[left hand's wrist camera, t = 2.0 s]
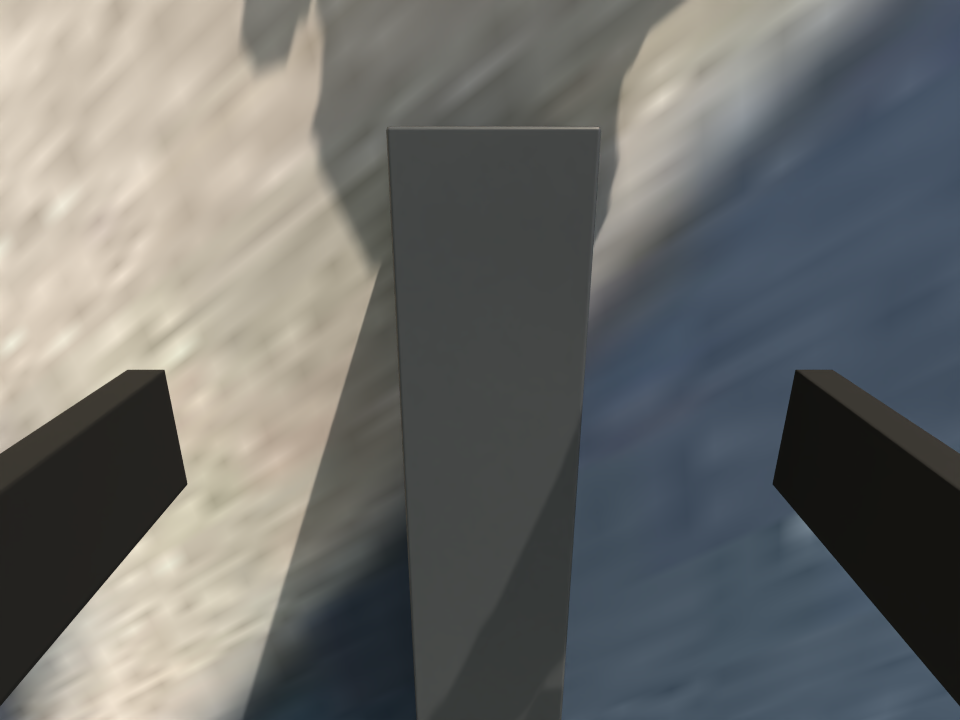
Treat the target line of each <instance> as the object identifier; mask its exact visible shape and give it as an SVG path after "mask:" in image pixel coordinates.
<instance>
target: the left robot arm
mask: <svg viewBox="0 0 960 720" xmlns="http://www.w3.org/2000/svg"><path fill="white" fill-rule="evenodd" d="M186 485H187V480H186V475H185V470H184V465H183V460H182V455H181V450H180V445H179V440H178V435H177V430H176V425H175V420H174V415H173V410H172V405H171V400H170V395H169V390H168V385H167V380H166V375H165V370H127V371H125V372H124V373H122V374H121V375H119V376H118V377H116V378H114V379H113V380H111V381H110V382H108V383H107V384H105V385H104V386H102V387H101V388H99V389H98V390H96V391H95V392H93V393H92V394H90V395H89V396H87V397H86V398H84V399H83V400H81V401H80V402H78V403H77V404H75V405H74V406H72V407H71V408H69V409H67V410H66V411H64V412H63V413H61V414H60V415H58V416H57V417H55V418H54V419H52V420H51V421H49V422H48V423H46V424H45V425H43V426H42V427H40V428H39V429H37V430H36V431H34V432H33V433H31V434H30V435H28V436H27V437H25V438H23V439H22V440H20V441H19V442H17V443H16V444H14V445H13V446H11V447H10V448H8V449H7V450H5V451H4V452H2V453H1V454H0V706H1V705H2V703H3V702H4V701H5V700H6V699H7V697H8V696H9V695H10V694H11V693H12V692H13V690H14V689H15V688H16V687H17V686H18V684H19V683H20V682H21V681H22V680H23V679H24V677H25V676H26V675H27V674H28V673H29V671H30V670H31V669H32V668H33V667H34V665H35V664H36V663H37V662H38V661H39V660H40V658H41V657H42V656H43V655H44V654H45V652H46V651H47V650H48V649H49V648H50V647H51V645H52V644H53V643H54V642H55V641H56V639H57V638H58V637H59V636H60V635H61V633H62V632H63V631H64V630H65V629H66V628H67V626H68V625H69V624H70V623H71V622H72V620H73V619H74V618H75V617H76V616H77V615H78V613H79V612H80V611H81V610H82V609H83V607H84V606H85V605H86V604H87V603H88V601H89V600H90V599H91V598H92V597H93V596H94V594H95V593H96V592H97V591H98V590H99V588H100V587H101V586H102V585H103V584H104V583H105V581H106V580H107V579H108V578H109V577H110V575H111V574H112V573H113V572H114V571H115V569H116V568H117V567H118V566H119V565H120V564H121V562H122V561H123V560H124V559H125V558H126V556H127V555H128V554H129V553H130V552H131V551H132V549H133V548H134V547H135V546H136V545H137V543H138V542H139V541H140V540H141V539H142V537H143V536H144V535H145V534H146V533H147V532H148V530H149V529H150V528H151V527H152V526H153V524H154V523H155V522H156V521H157V520H158V519H159V517H160V516H161V515H162V514H163V513H164V511H165V510H166V509H167V508H168V507H169V505H170V504H171V503H172V502H173V501H174V500H175V498H176V497H177V496H178V495H179V494H180V492H181V491H182V490H183V489H184V488H185V487H186ZM773 485H774V487H775V488H776V489H777V490H778V491H779V492H780V494H781V495H782V496H783V497H784V498H785V500H786V501H787V502H788V503H789V504H790V505H791V507H792V508H793V509H794V510H795V511H796V513H797V514H798V515H799V516H800V517H801V519H802V520H803V521H804V522H805V523H806V524H807V526H808V527H809V528H810V529H811V530H812V532H813V533H814V534H815V535H816V536H817V537H818V539H819V540H820V541H821V542H822V543H823V545H824V546H825V547H826V548H827V549H828V551H829V552H830V553H831V554H832V555H833V556H834V558H835V559H836V560H837V561H838V562H839V564H840V565H841V566H842V567H843V568H844V569H845V571H846V572H847V573H848V574H849V575H850V577H851V578H852V579H853V580H854V581H855V583H856V584H857V585H858V586H859V587H860V588H861V590H862V591H863V592H864V593H865V594H866V596H867V597H868V598H869V599H870V600H871V601H872V603H873V604H874V605H875V606H876V607H877V609H878V610H879V611H880V612H881V613H882V615H883V616H884V617H885V618H886V619H887V620H888V622H889V623H890V624H891V625H892V626H893V628H894V629H895V630H896V631H897V632H898V633H899V635H900V636H901V637H902V638H903V639H904V641H905V642H906V643H907V644H908V645H909V647H910V648H911V649H912V650H913V651H914V652H915V654H916V655H917V656H918V657H919V658H920V660H921V661H922V662H923V663H924V664H925V665H926V667H927V668H928V669H929V670H930V671H931V673H932V674H933V675H934V676H935V677H936V679H937V680H938V681H939V682H940V683H941V684H942V686H943V687H944V688H945V689H946V690H947V692H948V693H949V694H950V695H951V696H952V697H953V699H954V700H955V701H956V702H957V703H958V705H959V706H960V454H959V453H958V452H956V451H955V450H953V449H952V448H950V447H949V446H947V445H946V444H944V443H943V442H941V441H940V440H938V439H937V438H935V437H933V436H932V435H930V434H929V433H927V432H926V431H924V430H923V429H921V428H920V427H918V426H917V425H915V424H914V423H912V422H911V421H909V420H908V419H906V418H905V417H903V416H902V415H900V414H899V413H897V412H896V411H894V410H893V409H891V408H889V407H888V406H886V405H885V404H883V403H882V402H880V401H879V400H877V399H876V398H874V397H873V396H871V395H870V394H868V393H867V392H865V391H864V390H862V389H861V388H859V387H858V386H856V385H855V384H853V383H852V382H850V381H849V380H847V379H846V378H844V377H842V376H841V375H839V374H838V373H836V372H835V371H833V370H795V375H794V380H793V385H792V390H791V395H790V400H789V405H788V410H787V415H786V420H785V425H784V430H783V435H782V440H781V445H780V450H779V455H778V460H777V465H776V470H775V475H774V480H773Z"/></svg>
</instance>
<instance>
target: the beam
mask: <svg viewBox="0 0 960 720" xmlns="http://www.w3.org/2000/svg"><path fill="white" fill-rule="evenodd" d="M600 137H601V129H600V127H597V126H390V127H388V128H387V150H388V170H389V190H390V209H391V229H392V248H393V268H394V288H395V307H396V327H397V347H398V366H399V386H400V405H401V425H402V445H403V464H404V484H405V503H406V523H407V543H408V562H409V582H410V602H411V621H412V641H413V660H414V680H415V700H416V719H417V720H561V716H562V701H563V686H564V672H565V657H566V642H567V627H568V612H569V597H570V582H571V568H572V553H573V538H574V523H575V508H576V493H577V479H578V464H579V449H580V434H581V419H582V404H583V389H584V375H585V360H586V345H587V330H588V315H589V300H590V285H591V271H592V256H593V241H594V226H595V211H596V196H597V182H598V167H599V152H600Z"/></svg>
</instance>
